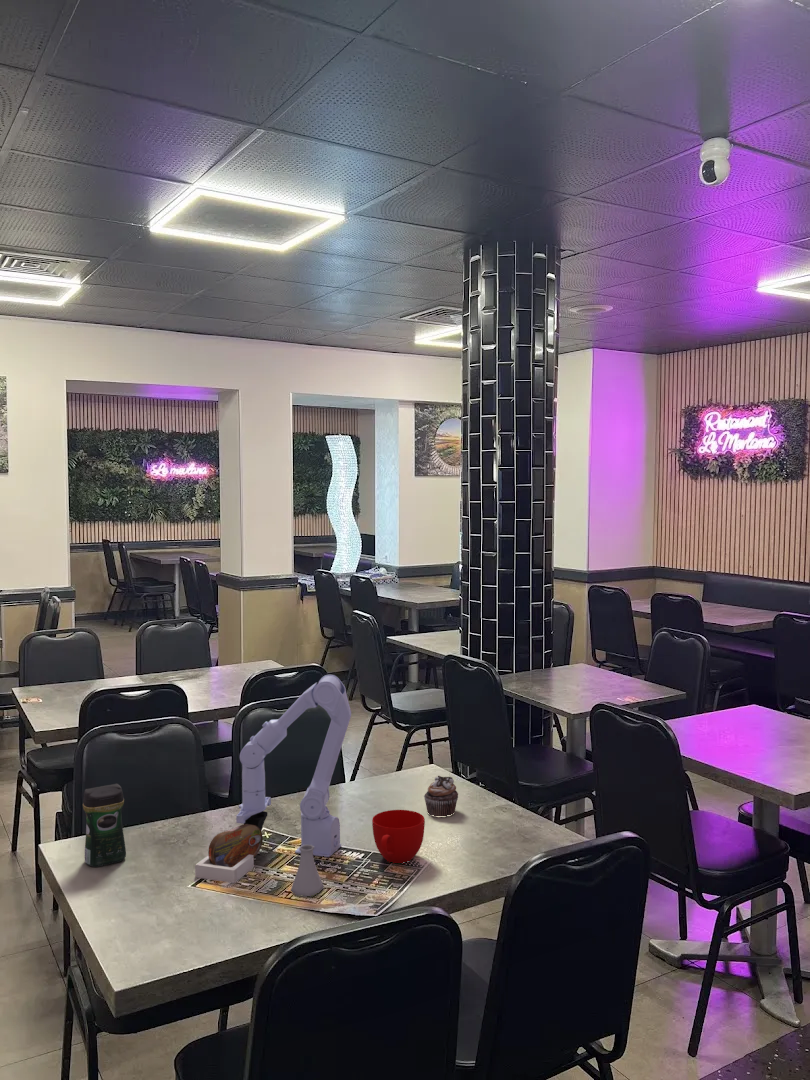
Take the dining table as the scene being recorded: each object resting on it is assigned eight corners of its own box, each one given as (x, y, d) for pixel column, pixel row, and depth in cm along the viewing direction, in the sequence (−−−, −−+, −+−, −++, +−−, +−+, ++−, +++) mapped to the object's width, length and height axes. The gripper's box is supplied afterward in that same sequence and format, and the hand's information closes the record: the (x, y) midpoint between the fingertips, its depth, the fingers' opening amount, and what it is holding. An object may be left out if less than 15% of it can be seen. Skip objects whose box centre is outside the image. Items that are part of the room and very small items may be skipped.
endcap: (253, 867, 208) (253, 855, 208) (234, 883, 199) (234, 870, 199) (215, 862, 211) (215, 849, 211) (195, 877, 203) (195, 864, 203)
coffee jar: (121, 851, 219) (119, 778, 218) (128, 861, 212) (127, 787, 211) (81, 859, 214) (79, 785, 213) (87, 870, 207) (86, 794, 206)
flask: (310, 900, 190) (309, 855, 190) (284, 892, 194) (284, 849, 194) (329, 888, 196) (329, 844, 196) (304, 881, 200) (304, 838, 200)
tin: (214, 874, 204) (213, 839, 204) (206, 870, 206) (205, 835, 206) (263, 854, 216) (263, 821, 215) (255, 851, 218) (255, 818, 218)
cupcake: (426, 806, 250) (425, 772, 249) (459, 807, 248) (459, 773, 248) (422, 818, 240) (422, 782, 240) (456, 819, 239) (456, 783, 239)
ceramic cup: (358, 871, 205) (357, 830, 205) (384, 845, 221) (383, 807, 220) (409, 879, 200) (408, 837, 200) (432, 852, 216) (431, 812, 216)
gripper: (253, 778, 227) (254, 829, 227) (225, 796, 213) (226, 850, 214) (277, 781, 225) (278, 832, 225) (250, 799, 211) (251, 854, 211)
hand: (254, 841), depth 219 cm, fingers closed
